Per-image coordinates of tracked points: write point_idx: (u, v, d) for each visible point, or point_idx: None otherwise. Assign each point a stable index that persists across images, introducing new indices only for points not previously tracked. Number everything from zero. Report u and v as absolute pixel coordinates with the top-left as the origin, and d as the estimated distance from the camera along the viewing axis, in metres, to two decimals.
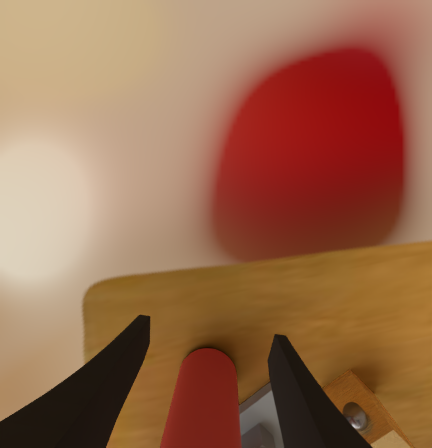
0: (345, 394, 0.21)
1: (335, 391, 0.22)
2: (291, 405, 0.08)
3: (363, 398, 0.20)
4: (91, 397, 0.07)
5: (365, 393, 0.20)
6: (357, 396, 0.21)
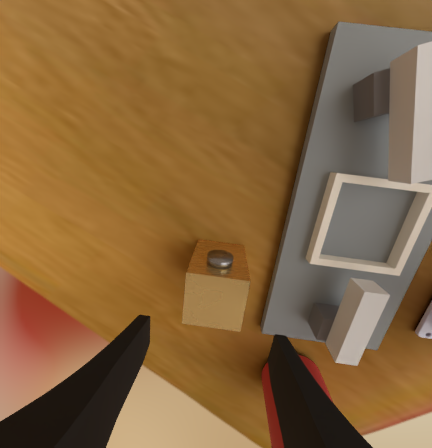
0: None
1: None
2: (291, 405, 0.08)
3: None
4: (91, 397, 0.07)
5: None
6: None
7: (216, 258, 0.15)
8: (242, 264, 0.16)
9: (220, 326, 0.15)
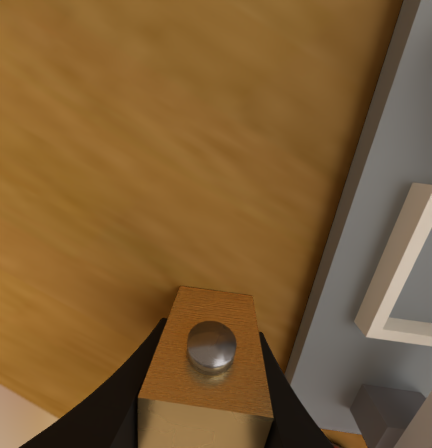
0: None
1: None
2: None
3: None
4: (130, 403, 0.07)
5: None
6: None
7: (203, 351, 0.08)
8: (252, 352, 0.08)
9: None
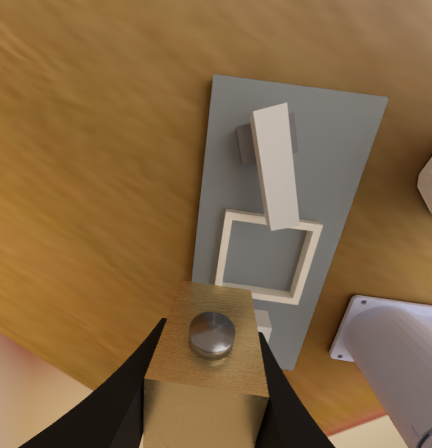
0: None
1: None
2: None
3: None
4: (130, 403, 0.07)
5: None
6: None
7: (204, 338, 0.08)
8: (250, 340, 0.09)
9: None
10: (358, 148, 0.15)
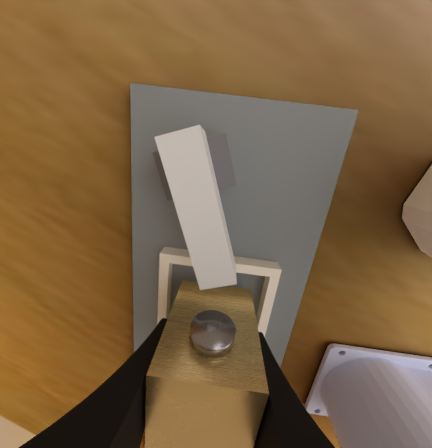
0: None
1: None
2: None
3: None
4: (130, 403, 0.07)
5: None
6: None
7: (205, 336, 0.08)
8: (250, 338, 0.09)
9: None
10: (322, 174, 0.11)
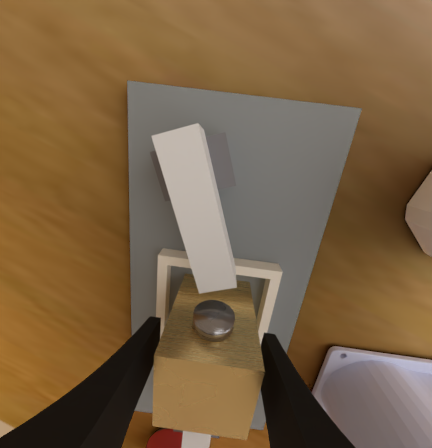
0: None
1: None
2: (277, 403, 0.08)
3: None
4: (109, 400, 0.07)
5: None
6: None
7: (207, 322, 0.09)
8: (248, 325, 0.10)
9: (214, 432, 0.09)
10: (324, 174, 0.11)
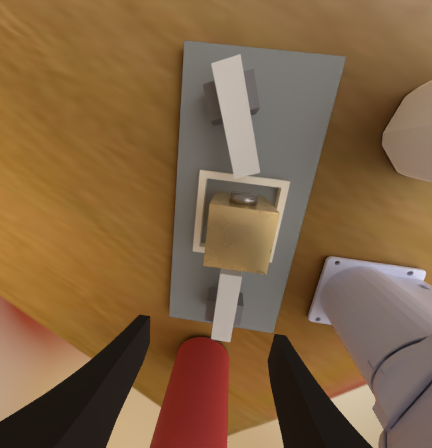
0: None
1: None
2: (291, 405, 0.08)
3: None
4: (91, 397, 0.07)
5: None
6: None
7: (240, 194, 0.14)
8: (267, 204, 0.14)
9: (244, 268, 0.14)
10: (320, 107, 0.16)
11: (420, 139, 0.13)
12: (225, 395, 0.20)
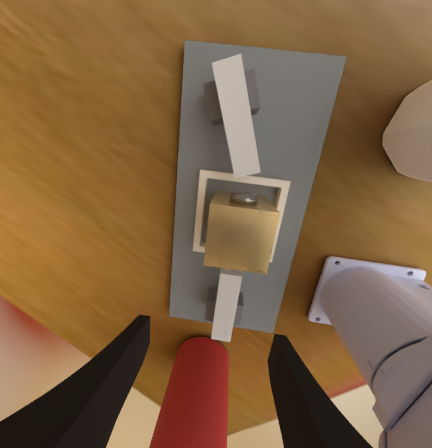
0: None
1: None
2: (291, 405, 0.08)
3: None
4: (91, 397, 0.07)
5: None
6: None
7: (241, 194, 0.14)
8: (267, 204, 0.14)
9: (245, 268, 0.14)
10: (321, 107, 0.16)
11: (420, 139, 0.13)
12: (225, 395, 0.20)
